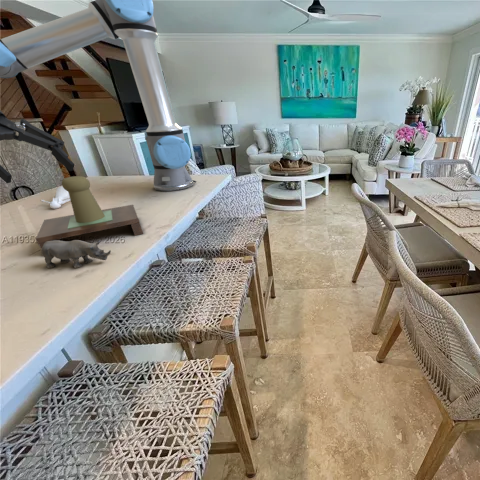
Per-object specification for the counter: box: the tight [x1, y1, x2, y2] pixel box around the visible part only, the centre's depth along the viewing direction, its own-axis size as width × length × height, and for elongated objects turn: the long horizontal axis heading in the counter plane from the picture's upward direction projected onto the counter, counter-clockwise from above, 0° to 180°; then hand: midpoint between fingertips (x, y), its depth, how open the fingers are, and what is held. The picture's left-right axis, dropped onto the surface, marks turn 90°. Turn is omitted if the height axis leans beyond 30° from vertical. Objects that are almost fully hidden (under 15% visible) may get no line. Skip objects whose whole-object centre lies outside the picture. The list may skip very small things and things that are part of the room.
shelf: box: [35, 204, 144, 250], centre depth 71 cm, size 20×14×5 cm
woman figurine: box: [40, 185, 71, 210], centre depth 96 cm, size 12×4×18 cm
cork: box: [61, 175, 105, 223], centre depth 68 cm, size 6×6×11 cm
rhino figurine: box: [41, 239, 112, 269], centre depth 57 cm, size 4×14×6 cm, turn 93°
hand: (43, 173), depth 69 cm, fingers open, 13 cm apart
